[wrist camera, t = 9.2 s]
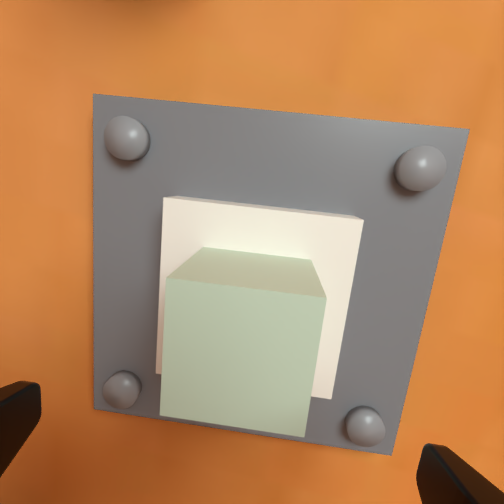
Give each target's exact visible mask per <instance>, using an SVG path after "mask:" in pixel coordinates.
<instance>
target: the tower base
mask: <svg viewBox="0 0 504 504" xmlns="http://www.w3.org/2000/svg"><path fill="white" fill-rule="evenodd" d="M469 130H470V129H462V128H451V127H441V126H430V125H420V124H409V123H398V122H388V121H377V120H367V119H356V118H345V117H335V116H324V115H313V114H303V113H292V112H282V111H271V110H260V109H250V108H239V107H229V106H218V105H207V104H197V103H186V102H176V101H165V100H154V99H144V98H133V97H122V96H112V95H101V94H93V267H94V409H97V410H103V411H109V412H116V413H122V414H128V415H135V416H141V417H148V418H154V419H160V420H167V421H173V422H179V423H186V424H192V425H199V426H205V427H211V428H218V429H224V430H231V431H237V432H243V433H250V434H256V435H262V436H269V437H275V438H282V439H288V440H294V441H301V442H307V443H314V444H320V445H326V446H333V447H339V448H345V449H352V450H358V451H365V452H371V453H377V454H384V455H390V456H392V452H393V448H394V443H395V439H396V435H397V431H398V427H399V423H400V418H401V414H402V410H403V406H404V402H405V398H406V393H407V389H408V385H409V381H410V377H411V372H412V368H413V364H414V360H415V356H416V352H417V347H418V343H419V339H420V335H421V331H422V327H423V322H424V318H425V314H426V310H427V306H428V301H429V297H430V293H431V289H432V285H433V281H434V276H435V272H436V268H437V264H438V260H439V255H440V251H441V247H442V243H443V239H444V235H445V230H446V226H447V222H448V218H449V214H450V210H451V205H452V201H453V197H454V193H455V189H456V184H457V180H458V176H459V172H460V168H461V164H462V159H463V155H464V151H465V147H466V143H467V139H468V134H469ZM203 247H209V248H217V249H226V250H234V251H243V252H251V253H259V254H268V255H276V256H285V257H293V258H302V259H310V260H312V263H313V265H314V268H315V270H316V272H317V275H318V277H319V280H320V282H321V285H322V287H323V290H324V292H325V294H326V297H327V300H326V307H325V313H324V319H323V325H322V331H321V338H320V344H319V350H318V356H317V362H316V368H315V375H314V381H313V387H312V393H311V399H310V405H309V412H308V418H307V424H306V430H305V436H304V437H298V436H291V435H285V434H278V433H271V432H265V431H258V430H252V429H245V428H239V427H232V426H226V425H219V424H213V423H206V422H199V421H193V420H186V419H180V418H173V417H167V416H160V398H161V376H162V354H163V332H164V310H165V288H166V277H167V276H169V275H170V274H171V273H172V272H173V271H175V270H176V269H177V268H178V267H180V266H181V265H182V264H183V263H184V262H186V261H187V260H188V259H189V258H190V257H192V256H193V255H194V254H195V253H196V252H198V251H199V250H200V249H201V248H203Z"/></svg>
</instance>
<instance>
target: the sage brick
mask: <svg viewBox="0 0 504 504" xmlns="http://www.w3.org/2000/svg"><path fill="white" fill-rule="evenodd" d="M326 300H327V297H326V294H325V292H324V290H323V287H322V285H321V282H320V280H319V277H318V275H317V272H316V270H315V268H314V265H313V263H312V260H310V259H302V258H293V257H285V256H276V255H268V254H259V253H251V252H243V251H234V250H226V249H217V248H209V247H203V248H201V249H200V250H199V251H198V252H196V253H195V254H194V255H193V256H192V257H190V258H189V259H188V260H187V261H186V262H184V263H183V264H182V265H181V266H180V267H178V268H177V269H176V270H175V271H173V272H172V273H171V274H170V275H169V276H167V277H166V288H165V310H164V332H163V354H162V376H161V398H160V416H167V417H173V418H180V419H186V420H193V421H199V422H206V423H213V424H219V425H226V426H232V427H239V428H245V429H252V430H258V431H265V432H271V433H278V434H285V435H291V436H298V437H304V436H305V430H306V424H307V418H308V412H309V405H310V399H311V393H312V387H313V381H314V375H315V368H316V362H317V356H318V350H319V344H320V338H321V331H322V325H323V319H324V313H325V307H326Z"/></svg>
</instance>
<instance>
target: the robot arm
mask: <svg viewBox="0 0 504 504" xmlns="http://www.w3.org/2000/svg"><path fill="white" fill-rule="evenodd" d="M40 417H41V390H40V386H39V384H37V383H34V382H28V381H18V382H15V383H13V384H10V385H7V386H4V387H2V388H0V477H1V476H2V474H3V473H4V471H5V470H6V469H7V467H8V466H9V464H10V463H11V461H12V460H13V459H14V457H15V456H16V454H17V453H18V451H19V450H20V448H21V447H22V446H23V444H24V443H25V441H26V440H27V438H28V437H29V435H30V434H31V433H32V431H33V430H34V428H35V427H36V425H37V424H38V422H39V420H40ZM416 481H417V486H418V490H419V494H420V497H421V501H422V504H504V493H503V492H502V491H501V490H499V489H498V488H497V487H496V486H494V485H493V484H492V483H491V482H490V481H488V480H487V479H486V478H485V477H483V476H482V475H481V474H480V473H479V472H477V471H476V470H475V469H474V468H472V467H471V466H470V465H469V464H467V463H466V462H465V461H464V460H463V459H461V458H460V457H459V456H458V455H456V454H455V453H454V452H453V451H451V450H450V449H449V448H448V447H446V446H443V445H437V444H430V443H428V444H426V445H425V446H424V447H423V450H422V454H421V458H420V462H419V465H418V469H417V474H416Z"/></svg>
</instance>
